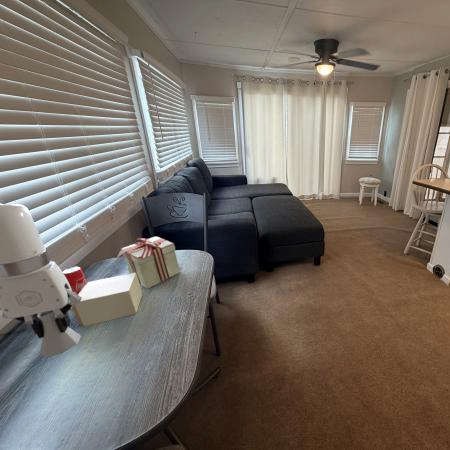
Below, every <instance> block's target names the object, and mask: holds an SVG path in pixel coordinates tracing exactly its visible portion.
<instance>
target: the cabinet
mask: <svg viewBox="0 0 450 450" xmlns="http://www.w3.org/2000/svg"><path fill="white" fill-rule="evenodd" d="M79 296H80V297H81V298H82V299H81V301H80V302H79V303H78V304H76V305H75V307H76V309H77V311H78V314H79V316H80V318H81V321H82V323H83V324H82V325H83V327H84V328H85V327H86V328H87V327H89V326H92V325H97V324H101V323H105V322H109V321H112V320H117V319H121V318H126V317H129V316H132V315H136V314H137V313H138V309H139V307H140V303H141V300H142V297H143V290H142V287H141V285H140V284H139V280H138V277H137V274H136V273H131V274H130V273H125V274H120V275H116V276H111V277H105V278H100V279H96V280H90V281H87V285H86V286H85V288H84V289H83V290H82V292H81V293H80V295H79Z"/></svg>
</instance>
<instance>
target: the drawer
mask: <svg viewBox="0 0 450 450" xmlns="http://www.w3.org/2000/svg"><path fill="white" fill-rule="evenodd" d="M84 288H85V286H84V287H83V289H84ZM83 289H82V290H83ZM82 290H81V291H80V293H81V292H82ZM80 293H79V294H78V295H80ZM69 301H70V300H68V302H69ZM69 311H73V314H74V316H75V318H76V320H77V322H78V325H83V323H82V321H81V318H80V316H79V314H78V311H77V309H76V307H75V306H73V307H71V308H70V310H69Z"/></svg>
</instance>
